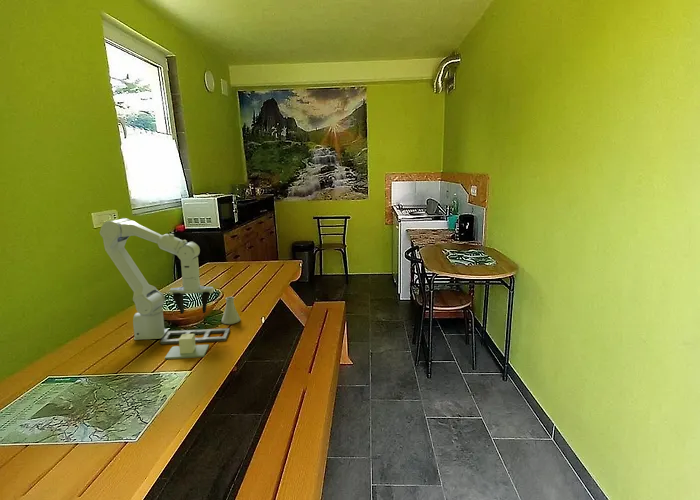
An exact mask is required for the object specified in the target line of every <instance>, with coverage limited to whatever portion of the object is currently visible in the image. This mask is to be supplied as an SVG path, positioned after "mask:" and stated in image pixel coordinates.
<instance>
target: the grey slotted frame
mask: <svg viewBox="0 0 700 500" xmlns="http://www.w3.org/2000/svg"><path fill="white" fill-rule="evenodd" d="M230 331H231V330H230V327H227V328H208V329H205V328H204V329H203V328H202V329H184V330H182V329H181V330H168V331H167V332H166V334H165V335H164V336H163V337H162V338H161V340H160V342H159V343H160V345H172V344H173V345H174V344H179V338H170V337H171V336H181V335H182V334H195V335H203V336H202V337H195V343H210V342H226V341H227V338H228V337H229V334H230ZM211 334H223V336H210V335H211Z"/></svg>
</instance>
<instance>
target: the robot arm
mask: <svg viewBox="0 0 700 500" xmlns="http://www.w3.org/2000/svg"><path fill="white" fill-rule="evenodd" d="M99 234H100V237H101V238H102V240H103V246H104V250H105V252H106V254H107V255H108V257H109V258H110V259H111V261H112V262H113V264H114V266H115V267H116V268H117V269H118V271H119V273H120V274H121V275H122V277H123V278H124V280H125V282H126V283H127V284H128V286H129V288H130V289H131V290H132V292H133V297H132V301H133V302H134V306H135V309H136V312H135V313H134V315H133V318H132V326H133V334H134V338H133V340H135V341H136V340H155V339H159V340H160V339H163V338H164V336H165V335H166V334H167V332H168V331H169V328H165V319H164V312H163V311H164V310H163V305H164V304H165V302H166V297H165V295H164V294H163V292H161V291H159V289H157V287H156V286H154V285H151V284H150V283H149V282H148V280H147V279H146V278H145V276H144V275H143V273H142V272H141V270H140V269H139V267H138V265H137V264H136V262H135V261H134V259H133V258H132V256H131V255H130V254H129V252H128V250H127V249H126V248H125V246H126V243H127V240H128V239H129V238H130V237H131V236H132V237H134V236H135V237H138V238H140V239H144V240H146V241H149V242H152V243H155V244H157V246H158V248H159V249H160V250H162V251H165V252H168V253H170V254H173V255H175V256H177V258H178V259H179V260H180V266H181V278H182V279H181V280H182V286H181V287H171V288H170V289H169V295H170V296H172V295H173V296H172V300H173V301H174V302H175V303H176V305H177V307H178V309H179V312H180V315H181V314H184V313H185V306H184V305H185V304H184V295H186V294H187V295H188V294H190V295H191V294H201V295H200V298H201V303H202V313H203V314H204V313H206V312H207V307H208V306H207V305H208V302H209V298H210V296H211V295H212V294H213V293H214V286H203V285H201V281H200V269H199V268H200V266H199V255H200V252H201V249H200V246H199V245H198V244H197V243H196V242H194V241H189V242H188V240H186V239H182V238H181V239H180V238H179V237H176V236H175V234H174V233H169V234H168V233H165V234H162V233H161V234H160V233H159V232H157V231H154V230H152V229H150V228H148V227H147V226H143V225H142V224H140V223H138V222H136V221H135V220H131V219H129V218H126V217H121V218H120V219H115V220H107V221H105V222H104V223H102V224H101V227H100V231H99Z"/></svg>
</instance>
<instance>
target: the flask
mask: <svg viewBox="0 0 700 500" xmlns="http://www.w3.org/2000/svg"><path fill="white" fill-rule="evenodd" d="M224 299H225V302H226V303H225V304H226V305H225V308H224V312H223V315H222V318H221V321H220V322H221V324H224V325H233V324H236V323H237V324H238V323H239V322H240V321H241V320H242V319H241V317H240V315H239V313H238V311H237V308H236V305H235V302H234V300H235V297H234V296H228V297H225V298H224Z"/></svg>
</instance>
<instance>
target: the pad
mask: <svg viewBox="0 0 700 500" xmlns="http://www.w3.org/2000/svg"><path fill="white" fill-rule="evenodd" d="M195 345H196V348H195V349H194V351H193V353H180V348H179V346H178V345H174V346H173V345H172V347H171V348H170V349H169V351H168V352H167V354H166V355H165V357H164V359H165V360H176V359H191V358H195V359H196V358H204V357H205V356H206V354H207V351H208V349H209V348H210V344H195Z"/></svg>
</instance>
